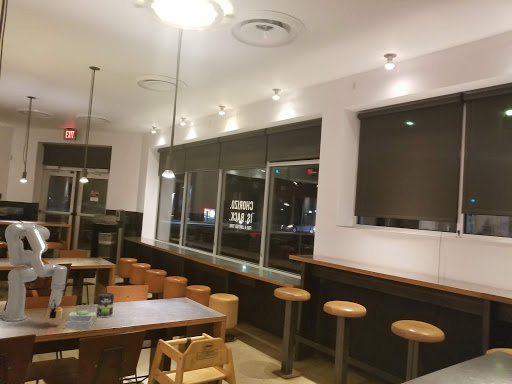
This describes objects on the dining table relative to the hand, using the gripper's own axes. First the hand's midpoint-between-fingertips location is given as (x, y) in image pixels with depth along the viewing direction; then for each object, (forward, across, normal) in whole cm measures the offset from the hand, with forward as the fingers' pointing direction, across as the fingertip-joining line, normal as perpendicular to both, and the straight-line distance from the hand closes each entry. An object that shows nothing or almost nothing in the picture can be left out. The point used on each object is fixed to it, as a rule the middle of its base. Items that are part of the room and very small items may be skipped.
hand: (53, 316), depth 241 cm
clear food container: (+6, -14, +14) cm, 21 cm away
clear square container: (+5, -2, +14) cm, 16 cm away
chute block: (+1, 0, 0) cm, 1 cm away
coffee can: (+5, -25, +27) cm, 37 cm away
